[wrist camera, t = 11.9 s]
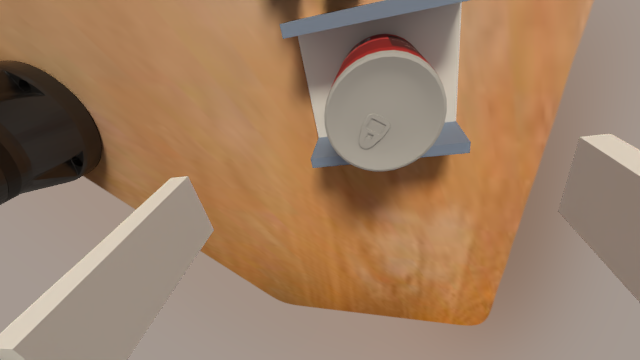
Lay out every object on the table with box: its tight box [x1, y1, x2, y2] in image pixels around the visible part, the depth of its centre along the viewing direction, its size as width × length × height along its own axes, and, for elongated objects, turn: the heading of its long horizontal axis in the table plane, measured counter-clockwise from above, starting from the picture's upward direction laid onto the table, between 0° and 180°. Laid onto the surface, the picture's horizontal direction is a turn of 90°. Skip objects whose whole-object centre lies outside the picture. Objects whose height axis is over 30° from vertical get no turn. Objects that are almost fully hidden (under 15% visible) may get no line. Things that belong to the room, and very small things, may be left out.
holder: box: [280, 0, 471, 168], centre depth 26 cm, size 14×12×6 cm
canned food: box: [324, 34, 447, 171], centre depth 23 cm, size 8×8×11 cm
